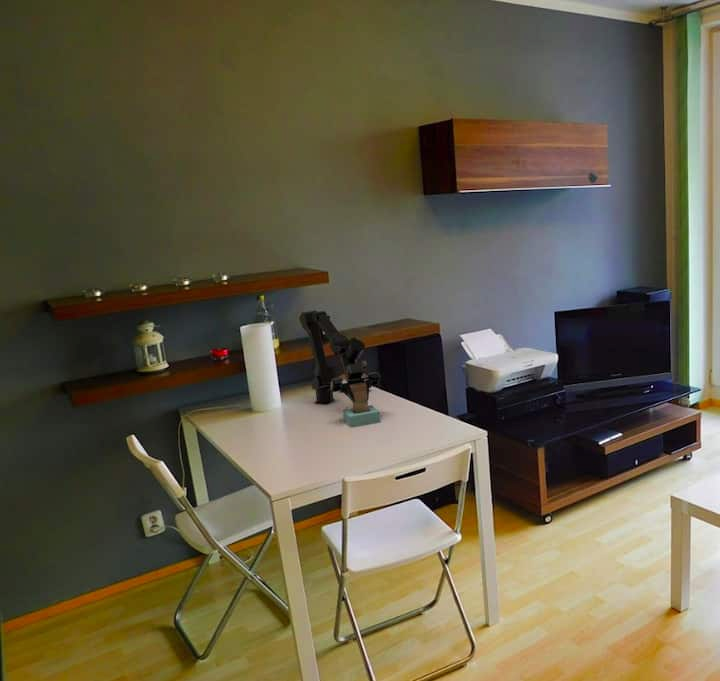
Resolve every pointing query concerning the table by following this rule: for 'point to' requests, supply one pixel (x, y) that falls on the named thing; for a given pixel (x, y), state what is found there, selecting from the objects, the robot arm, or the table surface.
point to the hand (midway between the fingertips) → (361, 401)
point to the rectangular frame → (361, 417)
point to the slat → (360, 398)
